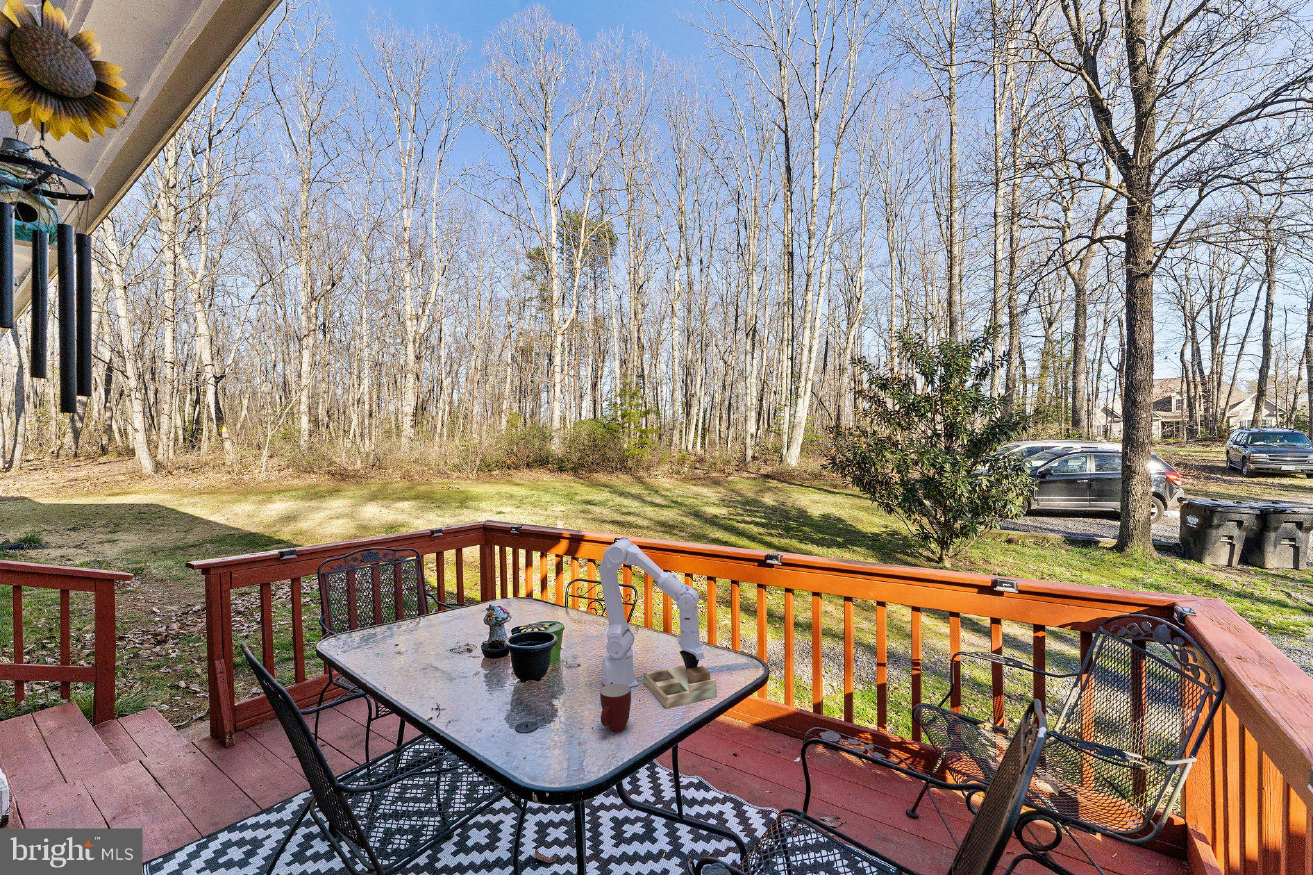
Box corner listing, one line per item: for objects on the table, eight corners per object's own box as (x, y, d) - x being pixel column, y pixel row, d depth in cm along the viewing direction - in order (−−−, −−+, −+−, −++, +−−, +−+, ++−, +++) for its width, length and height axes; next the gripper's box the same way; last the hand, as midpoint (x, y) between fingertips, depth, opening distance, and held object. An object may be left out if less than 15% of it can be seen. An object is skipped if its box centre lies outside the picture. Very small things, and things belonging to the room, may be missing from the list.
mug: (620, 743, 141) (618, 703, 141) (592, 738, 144) (590, 699, 144) (637, 722, 151) (635, 685, 151) (610, 718, 154) (608, 681, 154)
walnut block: (694, 689, 162) (694, 675, 162) (687, 682, 167) (687, 669, 167) (710, 685, 164) (709, 672, 164) (703, 679, 169) (702, 665, 169)
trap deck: (665, 708, 158) (664, 690, 158) (644, 683, 175) (643, 667, 175) (716, 696, 164) (716, 679, 164) (691, 673, 180) (690, 657, 180)
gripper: (712, 635, 165) (714, 681, 165) (691, 620, 178) (694, 663, 178) (689, 639, 162) (692, 686, 162) (671, 624, 176) (673, 668, 176)
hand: (691, 675), depth 170 cm, fingers closed
